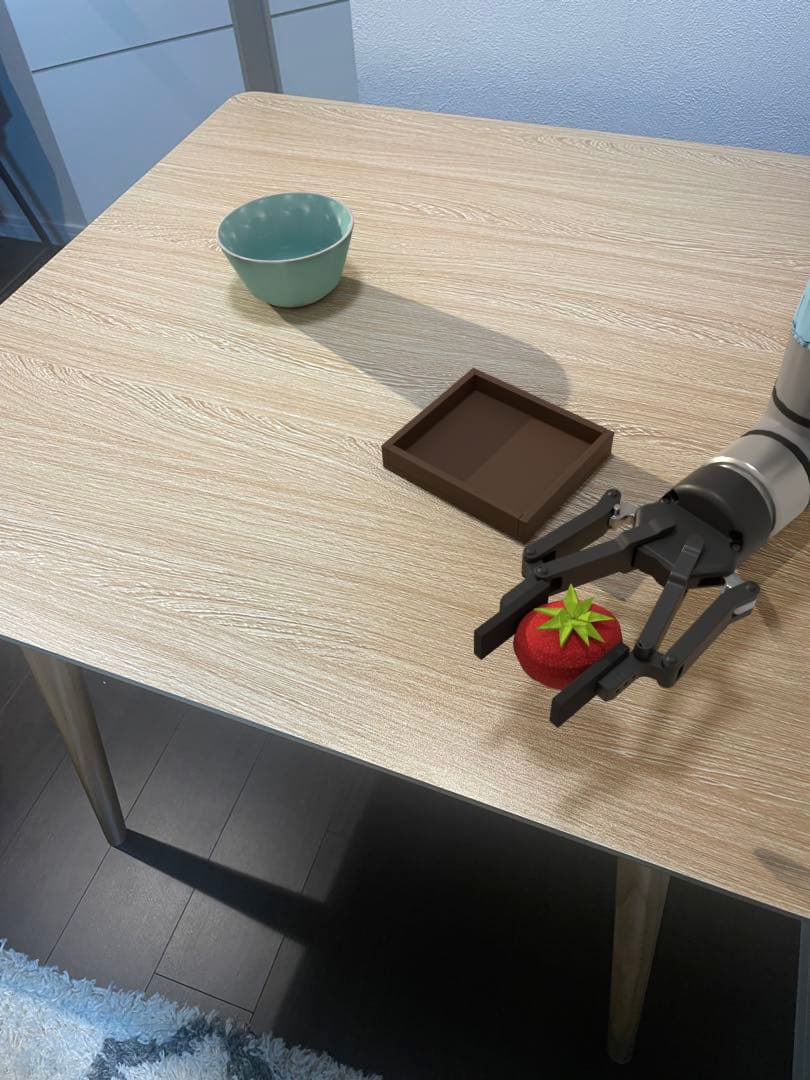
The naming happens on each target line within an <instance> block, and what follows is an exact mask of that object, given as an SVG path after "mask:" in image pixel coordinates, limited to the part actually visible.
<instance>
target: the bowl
mask: <svg viewBox="0 0 810 1080" xmlns="http://www.w3.org/2000/svg"><path fill="white" fill-rule="evenodd" d="M354 227H355V217H354V214H353V212H352V210H351V209H350V208H349V206H347V204H345V203H344V202H343V201H341V200H340V199H338V198H335V197H333V196H330V195H328V194H323V193H319V192H312V191H284V192H283V191H282V192H276V193H272V194H271V193H270V194H266V195H262V196H259V197H256V198H253V199H251V200H248V201H246V202H244V203H242V204H240V205H238V206H237V207H235V208H233V209H232V210H231V211H229V212H228V213H227V214H226V215H225V216H224V217H223V218H221V220H220V222H219V223H218V224H217V228H216V231H215V240H216V243H217V244H218V247H220V250H221V251H222V253H223V255H224V257H225V258H226V259H227V261H228V262H229V264H230V265H231V267H232V269H233V270H234V271H235V273H236V275H238V278H239V279H240V280H241V282H242V283H243V284H244V286H245V287H246V288H247V290H248V291H249V293H250V294H251V295H252V296H254V297H255V298H256V299H258V300H259V301H262V302H264V303H266V304H269V305H272V306H275V307H279V308H299V307H300V308H301V307H304V306H308V305H312V304H313V303H316V302H318V301H319V300H322V299H323V298H324V297H325V296H327V295H328V294H329V293H330V292H332V291H333V290H334V289H335V288H336V287H337V286H338V284H339V283H340V280H341V278H342V274H343V271H344V267H345V263H346V259H347V256H348V253H349V249H350V246H351V245H350V244H351V241H352V235H353V231H354Z"/></svg>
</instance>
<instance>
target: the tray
mask: <svg viewBox="0 0 810 1080" xmlns="http://www.w3.org/2000/svg"><path fill="white" fill-rule="evenodd" d="M614 437H615V431H613V430H611V429H609V428H607V427H605V426H602V425H601V424H598V423H596V422H594V421H591V420H589V419H587V418H585V417H583V416H581V415H578V414H576V413H574V412H572V411H569V410H567V409H565V408H563V407H561V406H559V405H556V404H554V403H552V402H550V401H548V400H545V399H544V398H541V397H539V396H536V395H535V394H533V393H530V392H528V391H526V390H523V388H522V389H521V388H519V387H518V386H515V385H513V384H510V383H508V382H506V381H503V380H502V379H500V378H497V377H495V376H493V375H491V374H489V373H487V372H484V371H483V370H479V369H478V368H475V367H472V368H471V369H469V371H467V372H466V373H465V374H463V376H461V377H460V378H458V380H457V381H455V382H454V383H453V384H452V385H451V386H450V387H448V388H447V389H446V390H445V391H444V392H443V393H441V394H440V395H439V396H438V397H437V398H435V399H434V400H433V401H432V402H431V403H429V404H428V405H427V406H426V407H425V408H423V410H422V411H420V412H419V413H418V414H416V415H415V416H414V417H413V418H412V419H410V421H408V422H407V423H405V424H404V426H402V427H401V428H400V429H398V431H396V432H395V433H393V435H392V436H391V437H389V438H388V439H387V440H386V441H384V443H382V444H381V445H380V448H381V460H382V467H383V468H385V469H386V470H389V471H390V472H392V473H394V474H396V475H397V476H399V477H401V478H403V479H405V480H406V481H409V482H410V483H412V484H415V485H416V486H418V487H419V488H421V489H424V490H425V491H426V492H428V493H431V494H433V495H434V496H435V497H438V498H440V499H441V500H443V501H445V502H447V503H449V504H451V505H453V506H454V507H456V508H458V509H460V510H462V511H463V512H466V513H468V514H469V515H471V516H472V517H474V518H476V519H478V520H480V521H482V522H483V523H485V524H487V525H489V526H491V527H493V528H494V529H496V530H498V531H500V532H502V533H504V534H506V535H508V536H509V537H511V538H513V539H515V540H517V542H520V543H522V544H523V545H526V544H527V543H528V542H529V541H530V539H531V538H533V536H534V535H535V534H536V533H537V532H538V531H539V530H540V529H541V528H542V527H543V526H544V525H545V524H546V523H547V522H548V521H549V519H550V518H551V517H552V516H553V515H554V514H555V513H557V511H558V510H559V509H560V508H561V507H562V506H563V505H564V504H565V502H567V501H568V499H570V497H571V496H572V495H573V494H574V493H575V492H576V491H577V490H578V489H579V488H580V487H581V486H582V484H584V483H585V481H587V479H588V478H589V477H590V476H591V475H593V473H594V472H595V471H596V470H597V469H598V468H599V467H600V466H601V465H602V464H603V463H604V462H605V460H607V458H609V457H610V455H611V454H612V449H613V443H614Z"/></svg>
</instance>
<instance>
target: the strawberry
mask: <svg viewBox="0 0 810 1080" xmlns="http://www.w3.org/2000/svg"><path fill="white" fill-rule="evenodd" d="M595 598H596V596H593V597H589V598H586V599H584V600H581V599H580V598H579V596H578V594H577V592H576V589H575V588H573V587H572V584H571V585H570V587H569V589H568V590H567V591H566V593H565V596H564V598H563V599H560V600H555V601H551V602H548V603H547V604H544V605H542V606H539V607H537V608H534V610H532V611H531V612H529V613H528V614H527V615H526V616H525V617H524V618H523V619H522V621H521V622H520V624H519V626H518V628H517V631H516V633H515V635H513V640H512V649H513V653H514V655H515V657H516V660H517V661H518V663H519V665H520V667H521V669H522V670H523V672H524V673H525V674H526V675H527V676H529V678H530V679H532V680H533V681H535V682H538V683H539V684H541V685H543V686H544V687H546V688H550V689H553V690H557V691H562V690H563V689H564V688H565V687H566V686H568V685H569V684H570V683H571V682H572V681H574V680H575V679H576V678H577V677H578V676H580V675H581V674H582V673H583V672H584V671H586V670H587V669H588V668H589V667H590V666H592V665H593V664H594V663H595V662H596V661H598V660H599V659H600V658H601V657H602V656H604V655H605V654H606V653H607V652H608V651H610V650H611V649H612V648H613V647H614V646H616V645H617V644H618V643H619V642H620V641H622V642H623V643H624V639H623V633H622V628H621V624H620V622H619V620H618V619H617V617H616V616H615V615H614V614H613V613H612V612H611V611H609V610H608V609H607V608H606V607H603V606H601V605H599V604H597V603H594V600H595Z"/></svg>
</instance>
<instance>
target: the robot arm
mask: <svg viewBox="0 0 810 1080" xmlns="http://www.w3.org/2000/svg"><path fill="white" fill-rule="evenodd" d="M621 499H622V492H621V491H620V490H619V489H617V488H609V489H607V490H606V491H605V492H604V493H603V494H602V496H601V497H600V499H599V500H598V501H597V503H596V504H595V505H593V506H592V507H589V508H588V509H587V510H585V511H583V512H582V513H580V514H578V515H577V516H574V517H573V518H571V519H570V520H568V521H566V522H565V523H563V524H561V525H559V526H558V527H557V528H554V529H553V530H552V531H550V532H548V533H546V534H545V535H543V536H542V537H540V538H538V539H537V540H535V541H533V542H531V543H530V544H528V545H527V546H525V547H524V548H523V550H522V554H521V555H522V557H521V558H522V559H521V571H520V574H521V576H522V578H523V580H522V581H520V582H519V583H517V584H516V585H515V586H513V587H511V589H510V590H509V591H507V592H506V593H504V594H503V595H502V597H501V598H500V600H499V611H498V612H496V613H495V614H494V615H492V616H491V617H490V618H489V619H487V620H486V621H484V622H483V623H482V624H481V625H479V626H478V627H476V628H475V629H474V630H473V655H474V656H475V657H477V658H478V659H479V660H480V661H483V660H484V659H485V658H486V657H487V656H489V655H490V654H492V653H493V652H494V651H495V650H497V649H498V648H499V647H501V646H502V645H503V644H504V643H506V642H507V641H508V640H509V639H511V638H512V637H514V635H515V633H516V631H517V628H518V626H519V624H520V622H521V621H522V619H523V618H524V617H525V616H526V615H527V614H528V613H529V612H531V611H532V610H534V608H537V607H539V606H542V605H544V604H547V603H549V598H550V597H553V596H555V595H558V594H561V593H564V592H567V591H568V589H569V587H570V585H571V584H572V587H573V589H575V588H578V587H581V586H583V585H586V584H589V583H592V582H594V581H598V580H600V579H603V578H606V577H608V576H612V575H614V574H617V573H621V574H623V575H625V574H628V573H631V572H634V571H637V570H639V571H640V572H641V573H643V574H645V575H647V576H650V577H651V578H652V579H653V580H655V582H656V583H657V584H658V586H661V587H662V588H663V589H662V591H661V593H660V594H659V597H658V599H657V600H656V603H655V604H654V607H653V609H652V610H651V612H650V614H649V616H648V618H647V620H646V622H645V624H644V626H643V627H642V630H641V632H640V633H639V634H638V637H637V638H635V641H634V646H633V649H632V650H631V647H630V646H628V645H627V643H625V642H624V641H623V642H622V641H620V642H619V643H618V644H617V645H616V646H614V647H613V648H612V649H611V650H610V651H608V652H607V653H606V654H605V655H604V656H602V657H601V658H600V659H599V660H598V661H596V662H595V663H594V664H593V665H592V666H590V667H589V668H588V669H587V670H586V671H584V672H583V673H582V674H581V675H580V676H578V677H577V678H576V679H575V680H574V681H572V682H571V683H570V684H569V685H568V686H566V687H565V688H564V689H563V690H559V692H558V693H556V694H555V695H554V696H553V697H552V698H551V703H550V704H551V705H550V713H549V719H548V721H549V722H550V723H551V724H552V725H553V726H554V727H556V729H559V728H560V727H562V726H563V725H564V724H565V723H566V722H567V721H568V720H570V719H571V718H572V717H573V716H574V715H575V714H576V713H578V712H579V711H581V709H583V708H584V707H585V706H586V705H587V704H589V702H591V700H593V699H594V698H595V697H596V696H597V697H598V698H599V699H601V700H602V701H603V702H605V703H609V702H611V701H614V700H615V699H616V698H617V697H618V696H619V695H620V694H622V693H623V691H625V690H627V688H629V687H630V686H632V684H633V683H634V682H636V680H638V679H639V678H650V679H652V680H654V681H656V683H657V685H658V686H659V687H661V688H663V689H671V688H673V687H674V686H675V685H676V684H677V683H678V682H679V680H681V678H683V676H684V675H685V674H686V673H687V672H688V671H689V670H690V669H691V667H692V666H694V664H695V663H696V662H697V661H698V660H699V659H700V657H701V656H702V655H703V654H704V653H705V652H706V651H707V650H708V648H710V646H711V645H712V644H713V643H714V642H715V641H716V640H717V639H718V638H719V636H721V634H722V633H724V631H725V630H726V629H727V628H728V627H729V626H730V625H731V624H734V623H735V622H738V621H740V620H742V619H744V618H746V617H748V616H750V615H751V614H752V613H753V610H754V608H755V606H756V603H757V601H758V597H759V594H760V592H761V585H759V583H757V582H756V581H753V580H747V581H744V580H743V579H742V578H741V577H740V576H739V574H738V573H736V569H737V568H738V567H740V566H741V565H743V563H745V562H746V561H747V560H748V559H749V558H750V557H751V556H753V555H754V554H755V553H756V552H758V551H759V550H760V549H761V548H763V546H764V545H766V543H767V542H768V540H769V541H770V540H771V539H772V538H773V537H774V536H776V535H777V534H778V533H779V532H781V530H783V529H784V528H785V527H787V526H788V525H789V524H790V523H791V522H793V521H794V520H795V519H796V518H797V517H798V516H800V515H801V514H802V513H803V512H804V511H806V509H808V508H809V506H810V279H809V280H808V282H807V284H806V286H805V288H804V290H803V293H802V295H801V297H800V300H799V302H798V305H797V307H796V310H795V312H794V314H793V316H792V320H791V326H790V331H789V335H788V337H787V342H786V346H785V349H784V353H783V356H782V361H781V364H780V368H779V371H778V375H777V378H776V379H775V381H774V385H773V386H772V390H771V393H770V395H769V399H768V403H767V406H766V409H765V411H764V414H763V416H762V417H761V418H760V420H759V421H758V422H756V423H755V424H754V425H753V426H752V427H750V428H749V429H748V430H747V431H745V432H744V433H743V434H742V435H740V436H739V437H737V438H736V439H735V440H734V441H732V442H730V443H729V444H728V445H727V446H725V447H723V448H722V449H721V450H720V451H719V452H717V453H715V454H714V455H713V456H711V457H710V458H709V459H707V460H706V461H705V462H704V463H702V465H700V466H699V467H698V468H696V469H694V470H693V471H692V472H691V473H689V474H688V475H687V476H685V477H683V478H682V480H680V481H679V482H677V483H676V484H675V485H674V486H672V487H671V488H670V489H668V490H667V491H666V492H665V493H664V494H663V495H662V496H661V497H660V498H659V499H658V500H657V501H654V502H650V503H645V504H642V505H641V506H636V505H634V504H632V503H628V502H626V501H624V500H621ZM624 524H631V525H632V528H629V529H626V530H624V531H622V532H620V533H618V535H617V536H616V537H615V538H613V539H610V540H607V541H605V542H601V543H599V544H596V545H592V546H590V545H591V544H593V543H594V542H596V541H598V540H599V539H601V538H602V537H604V536H605V535H606V534H607V533H608V532H609V531H612V532H614V531H617V530H618V528H620V527H622V525H624ZM588 546H590V547H588ZM586 547H587V548H586ZM717 587H721V588H720V590H719V592H718V596H717V598H715V600H714V601H713V602H712V603H711V604H710V605H709V606H708V607H707V608H706V609H705V610H704V611H703V612H702V614H701V615H699V617H698V618H696V620H695V621H694V622H693V623H692V624H691V625H690V626H689V627H688V629H686V630H685V632H684V633H683V634H682V635H681V636H680V637H678V639H677V640H676V641H675V642H674V643H673V645H671V647H670V648H669V649H668V650H667V651H666V652H665V653H663V652H660V651H659V649H660V647H661V645H662V643H663V641H664V639H665V637H666V635H667V633H668V632H669V629H670V627H671V625H672V623H673V621H674V619H675V617H676V615H677V613H678V610H680V608H681V606H682V604H683V603H684V600H685V598H686V597H687V594H688V592H689V591H690V590H697V589H709V588H717Z"/></svg>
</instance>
